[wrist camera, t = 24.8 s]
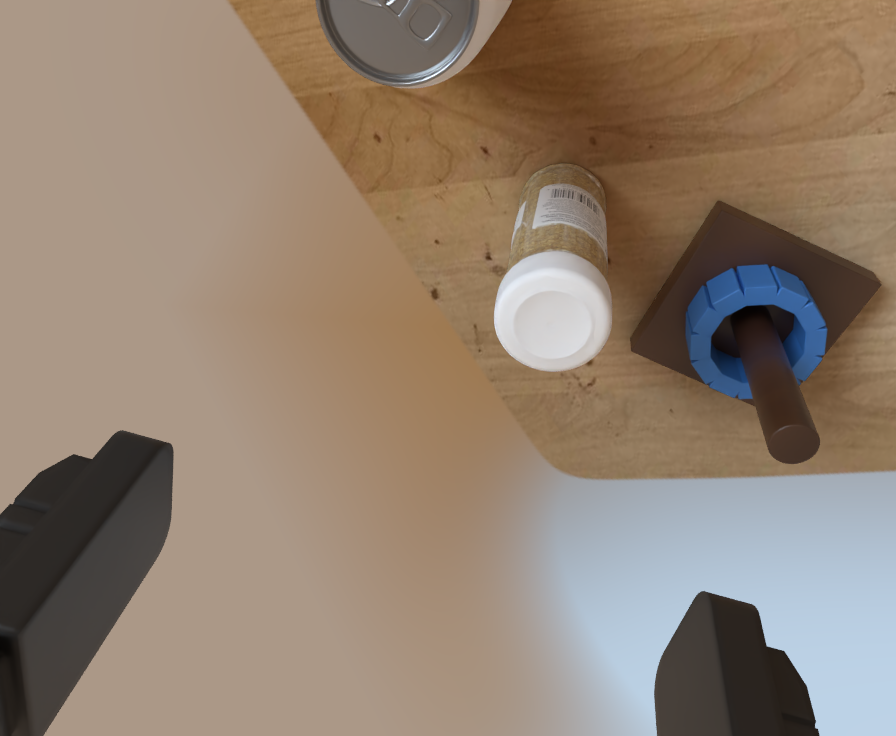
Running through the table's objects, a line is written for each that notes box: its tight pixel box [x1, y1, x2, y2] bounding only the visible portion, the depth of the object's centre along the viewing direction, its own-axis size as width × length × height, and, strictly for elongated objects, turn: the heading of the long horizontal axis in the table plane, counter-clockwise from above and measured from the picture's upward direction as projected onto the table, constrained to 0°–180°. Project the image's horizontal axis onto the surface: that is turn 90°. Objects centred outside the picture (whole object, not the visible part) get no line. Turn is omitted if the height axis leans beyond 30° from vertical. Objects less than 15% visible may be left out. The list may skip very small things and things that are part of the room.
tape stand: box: [630, 201, 881, 464], centre depth 38 cm, size 9×9×12 cm
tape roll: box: [685, 264, 827, 399], centre depth 41 cm, size 6×6×3 cm
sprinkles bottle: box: [494, 163, 612, 372], centre depth 36 cm, size 5×5×14 cm
